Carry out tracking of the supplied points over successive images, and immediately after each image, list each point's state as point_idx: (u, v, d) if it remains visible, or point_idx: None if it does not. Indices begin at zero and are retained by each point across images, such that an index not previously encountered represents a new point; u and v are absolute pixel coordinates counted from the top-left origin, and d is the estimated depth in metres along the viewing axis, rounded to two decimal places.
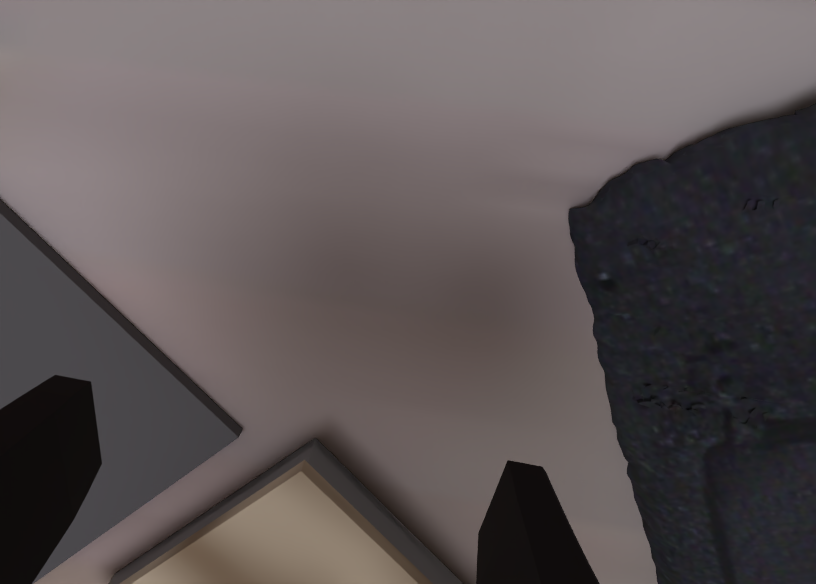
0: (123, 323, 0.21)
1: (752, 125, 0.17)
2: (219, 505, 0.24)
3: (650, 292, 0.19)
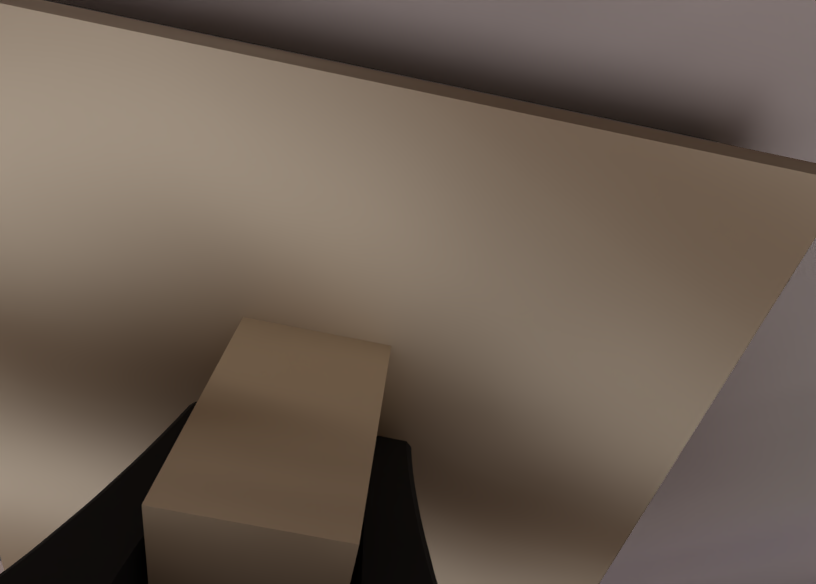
0: None
1: None
2: None
3: None
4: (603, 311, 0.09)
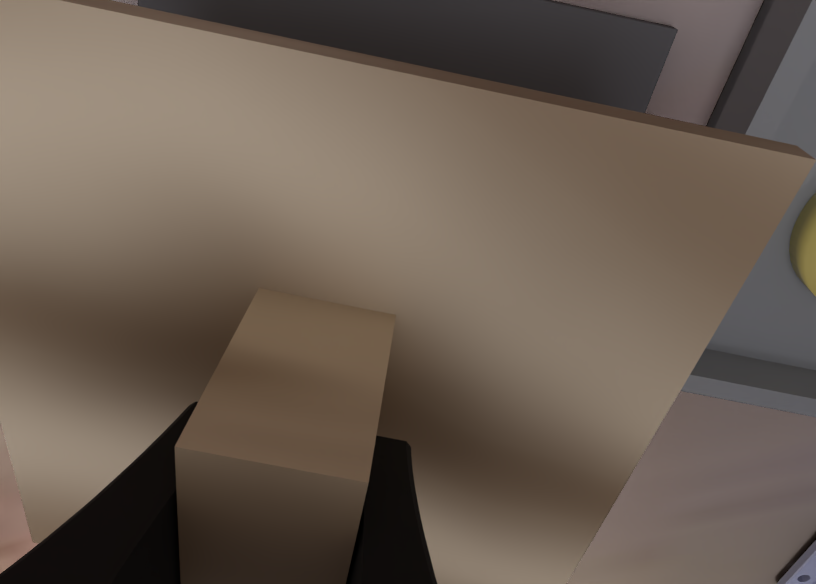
0: None
1: None
2: None
3: None
4: (592, 281, 0.10)
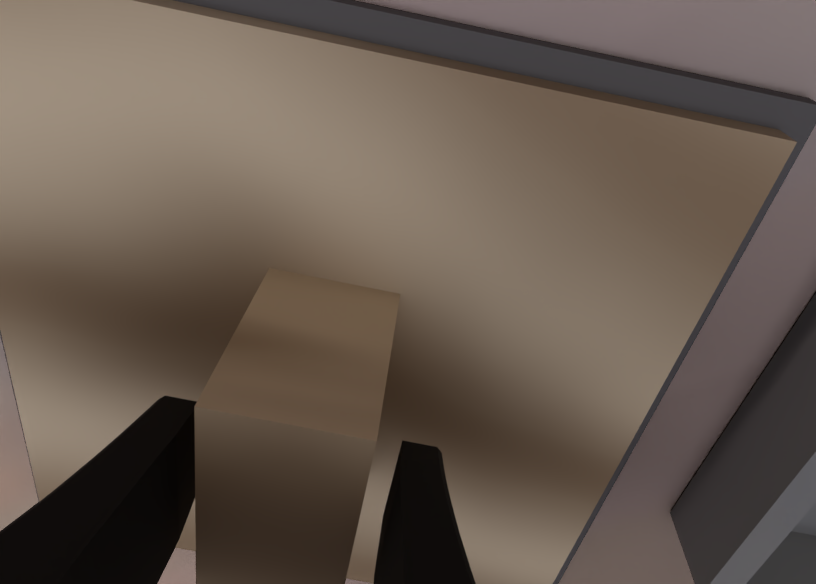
0: (450, 24, 0.09)
1: None
2: None
3: None
4: (587, 260, 0.10)
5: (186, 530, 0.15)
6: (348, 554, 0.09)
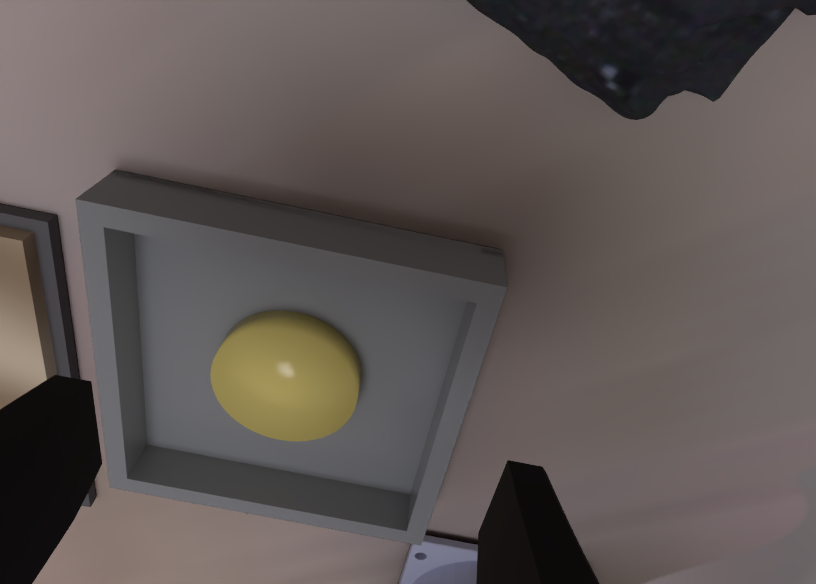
0: None
1: None
2: None
3: None
4: None
5: None
6: None
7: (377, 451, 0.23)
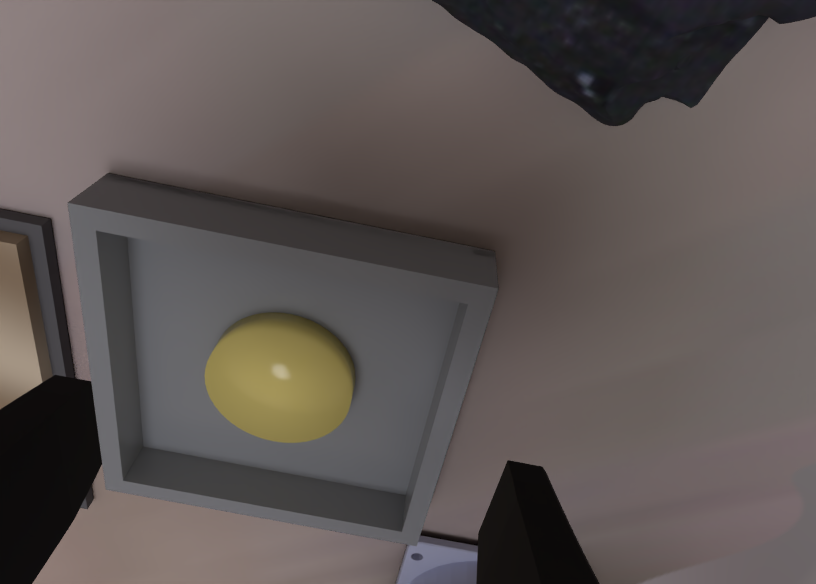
0: None
1: None
2: None
3: None
4: None
5: None
6: None
7: (372, 452, 0.23)
